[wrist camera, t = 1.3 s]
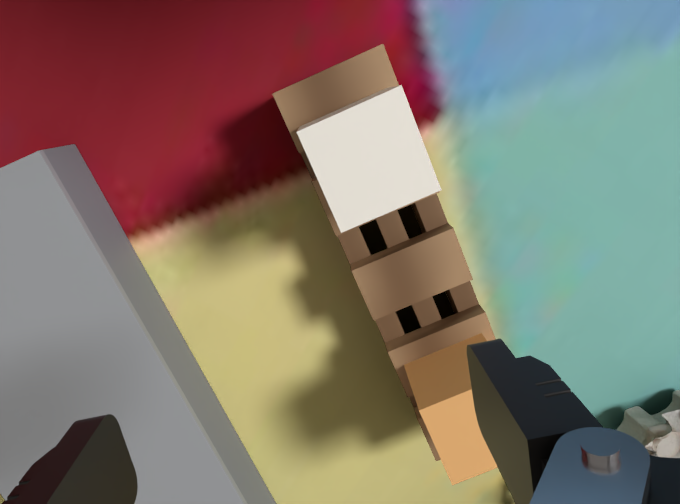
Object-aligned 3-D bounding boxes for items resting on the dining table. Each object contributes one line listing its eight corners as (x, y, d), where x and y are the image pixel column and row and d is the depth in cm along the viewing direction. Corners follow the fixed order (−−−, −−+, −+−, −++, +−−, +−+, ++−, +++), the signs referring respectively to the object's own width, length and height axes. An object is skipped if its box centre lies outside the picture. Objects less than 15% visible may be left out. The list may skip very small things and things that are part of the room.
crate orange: (481, 333, 29) (510, 373, 25) (508, 400, 30) (540, 450, 26) (403, 364, 30) (418, 410, 25) (433, 430, 31) (452, 485, 26)
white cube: (387, 87, 26) (401, 85, 21) (421, 175, 27) (441, 190, 23) (299, 126, 26) (296, 131, 22) (337, 211, 27) (341, 233, 23)
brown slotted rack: (373, 52, 29) (383, 43, 25) (502, 385, 35) (528, 425, 31) (278, 94, 30) (272, 93, 26) (421, 418, 36) (436, 461, 31)
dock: (74, 144, 30) (38, 150, 26) (277, 506, 36) (273, 554, 33) (-116, 230, 30) (-178, 249, 27) (118, 569, 37) (95, 623, 33)
